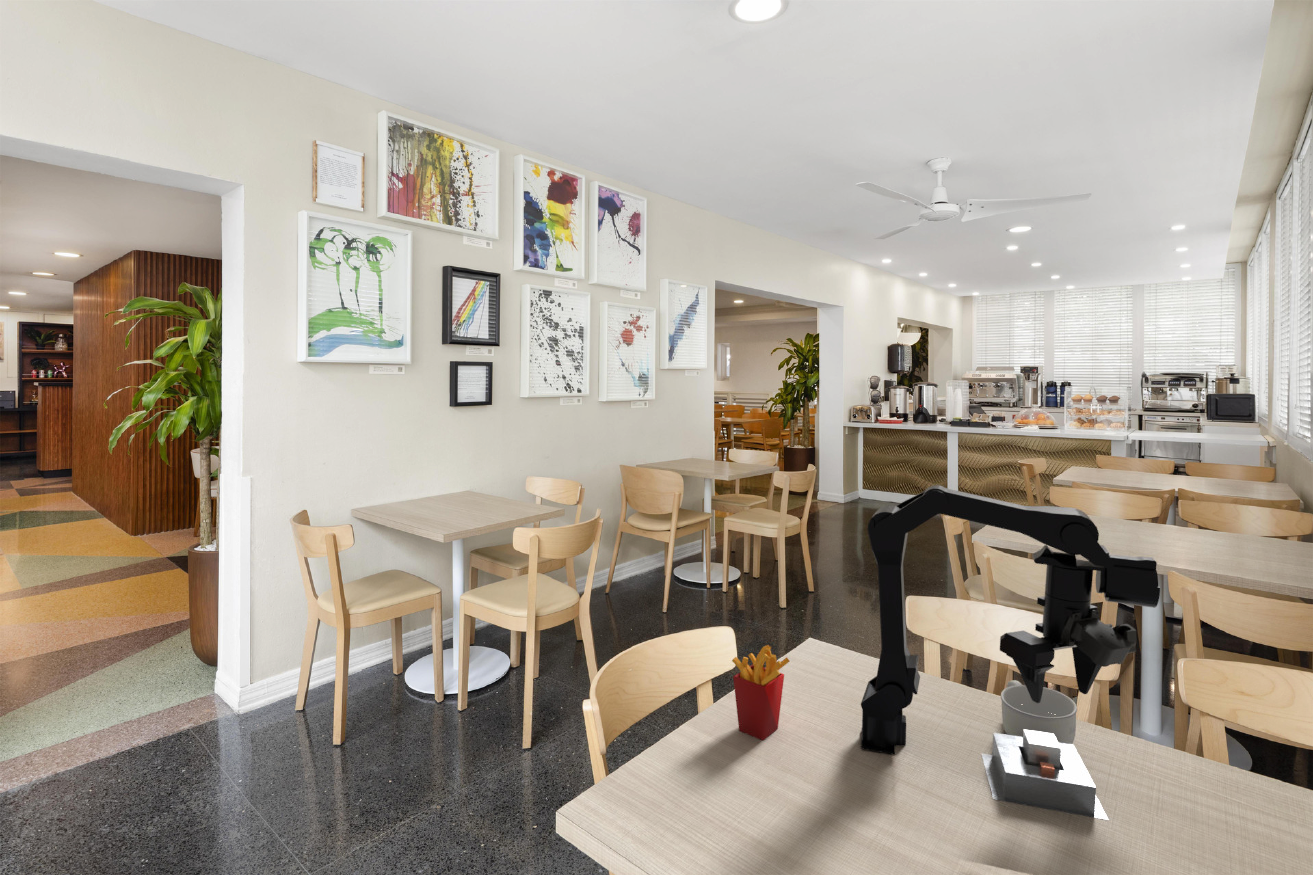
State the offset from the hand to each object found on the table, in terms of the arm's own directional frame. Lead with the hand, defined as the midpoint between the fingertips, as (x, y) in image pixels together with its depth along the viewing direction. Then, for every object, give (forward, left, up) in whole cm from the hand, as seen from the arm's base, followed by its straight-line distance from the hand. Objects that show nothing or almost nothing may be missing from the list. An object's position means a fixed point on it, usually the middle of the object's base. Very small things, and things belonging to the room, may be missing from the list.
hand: (1059, 697), depth 97 cm
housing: (-3, -3, -13) cm, 14 cm away
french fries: (-44, +1, -14) cm, 46 cm away
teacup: (-1, +12, -14) cm, 18 cm away
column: (-3, -3, -12) cm, 13 cm away
